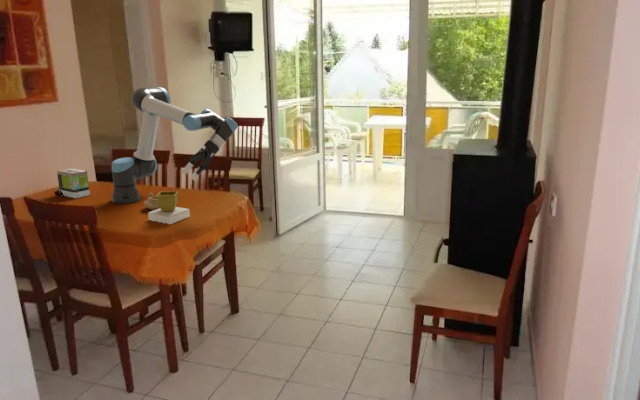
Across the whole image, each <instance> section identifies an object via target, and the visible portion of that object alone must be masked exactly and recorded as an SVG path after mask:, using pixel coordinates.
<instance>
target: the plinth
mask: <svg viewBox="0 0 640 400" xmlns="http://www.w3.org/2000/svg"><path fill="white" fill-rule="evenodd" d="M190 212H191V211H190V208H185V207H178V206H176V207H175V209H174V211H172V212H163V211H162V210H161V209H157V210H151V211H149V212H147V215H148V220H149V221H150V220H151V221H150V222H156V221H157V223H161V222H162V223H161V224H166V223H167V224H166V225H172V224H175V223H177V222H180V221H183V220H185V219H187V218H190V217H191V213H190Z"/></svg>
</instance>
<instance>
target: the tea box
mask: <svg viewBox="0 0 640 400" xmlns="http://www.w3.org/2000/svg"><path fill="white" fill-rule="evenodd" d="M56 173H57V182H58V190H59V192H60V191H61V192H62V193H63V195H64V197H68V198H72V199H78V198H82V197H87V196H90V195H91V194H90V185H89V178H88V170H84V169H78V168H73V167H72V168H66V169H61V170H60V169H59V170H57V171H56ZM63 195H62V196H63Z"/></svg>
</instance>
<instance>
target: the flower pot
mask: <svg viewBox="0 0 640 400" xmlns="http://www.w3.org/2000/svg"><path fill="white" fill-rule="evenodd" d="M156 196H157V200H158V204H159V207H160V209H161V210H162V211H163V212H172V211H174V209H175V207H177V204H178V196H179V191H178V190H174V191H173V190H171V191H170V190H169V191H167V190H166V191H165V190H164V191H163V190H162V191H159V192H158V193H157V194H156Z"/></svg>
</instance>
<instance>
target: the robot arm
mask: <svg viewBox="0 0 640 400" xmlns="http://www.w3.org/2000/svg"><path fill="white" fill-rule="evenodd" d="M130 99H131V100H130V101H131V103H132V106H134V108H135V110H138V111H140V112H143V116H142V122H141V128H140V132H139V138H138V144H137V147H136V148H137V150H136V151H134V152H133V155H132V157H128V156H127V157H126V156H125V157H120V158H116V159H115V160H113V161H112V162H111V174H112V182H113V183H112V185H113V192H112V196H111V202H112V203H114V204H119V205H120V204H121V205H123V204H126V205H127V204H133V203H137V202H138V201H140V200H141V198H142V197H141V194H140V193H139V190H138V187H137V182H136V180H139V179H143V178H147V177H150V176H152V175H153V174H155V173H156V171H157V168H158V163H157V160H156V158H155V157H156V156H155V155H154V149H155V143H156V138H157V133H158V128H159V123H160V119H161V118H163V119H166V120H169V121H171V122H174V123H176V124H178V125H181V126H183V127H184V128H185V129H186V130H187V131H189V132H191V131H193V132H195V131H199V130H203V129H204V130H205V129H209V128H211V129H212V130H213V131H214V132H213V133H212V134H211V136H210V137H209V138H208V139H207V140H206V142H205V143H204V144H203V146H204V148H203V147H201V148H200V149H199V150H198V151H197V152H196V153H195V154H193V156H191V157H190V158H189V159H188V163H186V165H185V166H184V168H183V169H182V170H181V174H183V175H185V176H186V175H187V174H188V173H189V172H190V171H191V170H192V168H193V167H194V166H195V164H196V163H199V161H200V162H201V163H200V165H198V167H197V168H196V169H195V170H194V172H192V174H191V175H190V179H192V180H193V181H196V179H197V178H198V177H199V176H200V175H201V173H202V172H203V171H206V170H207V169H208V167H209V166H210V164H211V162H212V160H213V159H214V157H215V155H216V154H217V153H218V152H219V151H220V148H222V147H223V146H224V147H225V144H226V143H227V141H228V140H229V139H230V138H231V137H232V135H233V134H234V133H235V131H237V129H238V127H239V126H238V123H237V122H236V121H235V120H234V119H233V118H231V117H229V116H227V117H225V118H223V117H221V116H220V115H219V114H217V113H216V112H215V111H213V110H211V109H209V108H205V109H204V110H202V111H201V112H200V113H194V112H191V111H189V110H186V109H183V108H180V107H178V106H175V105H173V104H171V96H170V94H169V92H168V90H167V89H166V88H164V87H160V86H154V87H153V86H152V87H151V86H149V87H140V88H137V89H136V90H134V92H133V93H132V94H131V97H130ZM160 117H161V118H160Z"/></svg>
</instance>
